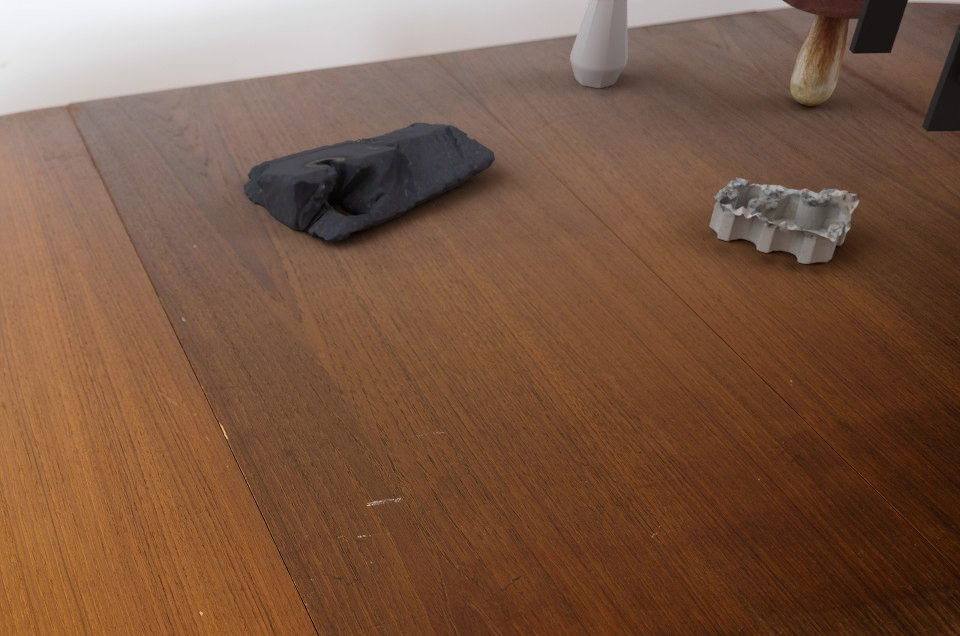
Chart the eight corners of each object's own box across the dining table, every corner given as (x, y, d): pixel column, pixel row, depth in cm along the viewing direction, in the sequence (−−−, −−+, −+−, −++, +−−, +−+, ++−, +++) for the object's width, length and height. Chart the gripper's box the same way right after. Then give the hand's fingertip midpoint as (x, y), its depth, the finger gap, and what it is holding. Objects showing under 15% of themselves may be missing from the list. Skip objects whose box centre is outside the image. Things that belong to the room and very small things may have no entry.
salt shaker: (580, 94, 129) (601, -35, 120) (558, 72, 133) (577, -54, 125) (632, 88, 130) (657, -41, 121) (609, 66, 134) (631, -59, 125)
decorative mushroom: (804, 135, 121) (850, -23, 111) (727, 93, 128) (764, -58, 118) (889, 112, 124) (941, -43, 114) (809, 73, 131) (851, -76, 122)
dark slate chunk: (518, 187, 114) (525, 139, 111) (319, 255, 106) (320, 205, 102) (417, 126, 124) (420, 80, 121) (227, 184, 116) (226, 136, 112)
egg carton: (853, 238, 106) (868, 194, 103) (820, 274, 101) (835, 230, 99) (733, 200, 111) (744, 158, 108) (696, 234, 107) (707, 190, 104)
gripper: (881, -313, 80) (790, 22, 94) (1073, -231, 61) (924, 171, 75) (999, -316, 80) (890, 20, 94) (1226, -234, 61) (1048, 169, 75)
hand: (905, 88), depth 85 cm, fingers open, 12 cm apart
